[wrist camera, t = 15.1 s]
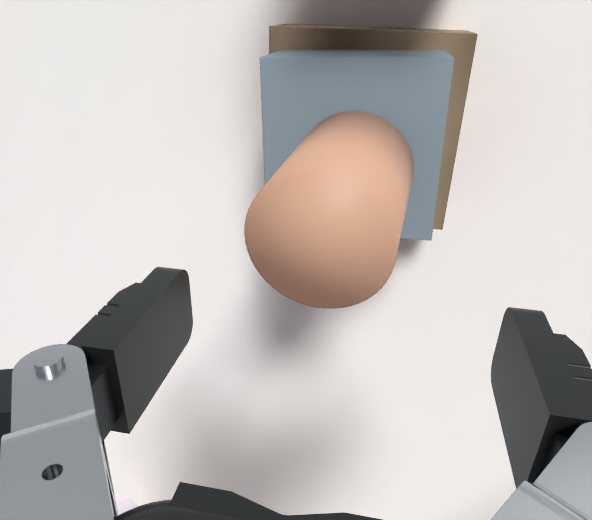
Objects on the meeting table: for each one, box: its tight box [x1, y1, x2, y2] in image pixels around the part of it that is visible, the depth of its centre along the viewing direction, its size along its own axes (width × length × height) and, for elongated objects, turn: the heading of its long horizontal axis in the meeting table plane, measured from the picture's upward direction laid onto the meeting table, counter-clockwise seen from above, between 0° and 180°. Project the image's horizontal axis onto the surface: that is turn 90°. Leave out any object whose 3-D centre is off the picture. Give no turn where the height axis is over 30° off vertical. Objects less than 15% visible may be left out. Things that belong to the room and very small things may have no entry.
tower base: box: [269, 24, 477, 230], centre depth 28 cm, size 10×10×4 cm
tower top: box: [260, 50, 454, 240], centre depth 24 cm, size 8×8×4 cm
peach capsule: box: [244, 111, 414, 308], centre depth 19 cm, size 5×5×7 cm
